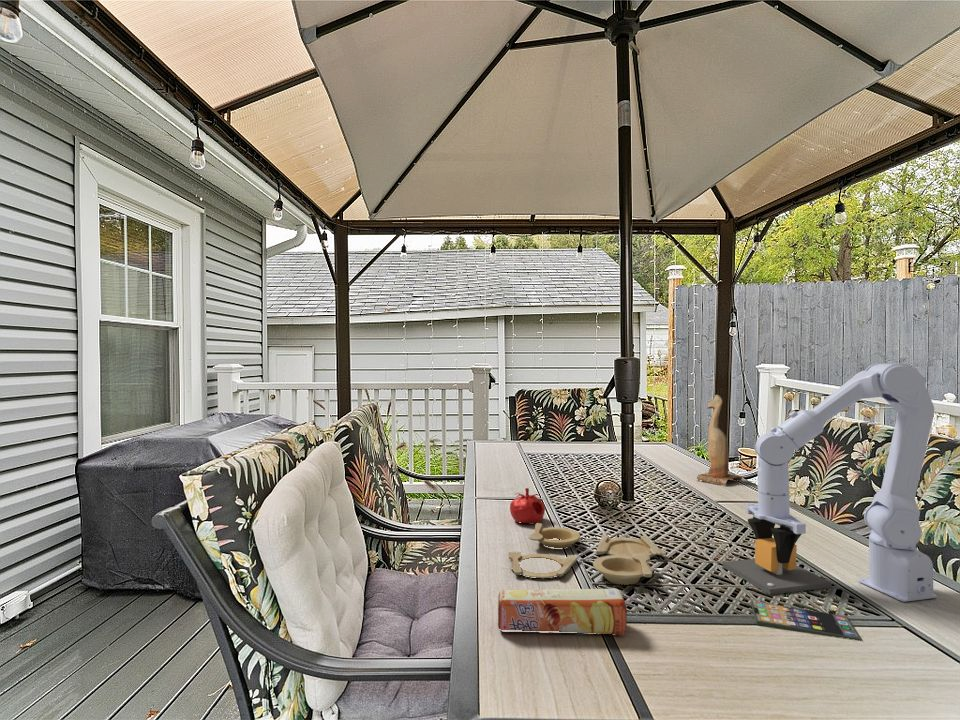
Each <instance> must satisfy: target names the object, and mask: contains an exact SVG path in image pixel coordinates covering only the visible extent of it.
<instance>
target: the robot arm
mask: <svg viewBox="0 0 960 720" xmlns="http://www.w3.org/2000/svg"><path fill="white" fill-rule="evenodd" d="M872 398H873V399H874V398H882V399H884V400H885V401H886V402H887V403H888V404H889V405H890V406H891V407H892V409H894V410H895V411H896V413H897V416H896V420H895V423H894V430H893V433H892V436H891V437H892V438H891V442H890V446H889V450H888V451H889V452H888V456H887V459H886V460H887V461H886V465H885V470H884V473H883V479H882V483H881V488H880V489H879V491H878V492H876V493H875V494H874V495H873V499H872V502H871V503H870V505H869V506H868V507H867V508H866V509H865V511H864V515H863V517H864V518H863V519H864V522H865V524H866V526H867V527H868V529H870V533H869V536H868V560H869V561H868V562H869V563H868V565H869V567H868V569H869V571H868V572H869V573H868V574H869V575H868V576H869V577H862V578H858V579H857V581H858V582H859V583H861V584H864V585H866V586H867V587H870V588H872V589H874V590H876V591H878V592H881V593H883V594H884V595H887V596H889V597H891V598H894V599H896V600H899V601H901V602H906V603H907V602H911V601H920V600H929V599H936V598H937V597H938V595H937V594H935V593H934V565H933V561H932V560H931V558H930V556H929V555H928V554H925V553H923V552H922V551H920V550H919V549H918V548H917V544H918V543H919V542H920V541H921V539H922V536H923V535H922V528H921V524H920V515H921V513H920V509H919V506H918V504H917V501H916V496H917V495H916V494H917V491H918V487H919V486H918V485H919V482H920V478H921V473H922V469H923V464H924V461H925V456H926V450H927V446H928V441H929V437H930V433H931V427H932V423H933V420H934V415H935V414H934V413H935V405H934V403H933V401H932V398H931V396H930V394H929V392H928V389H927V386H926V377H925V376H924V375H922V374H921V373H920V372H919V371H918V370H917V369H916V368H915V367H913V366H912V365H909V364H908V363H902V362H898V363H897V362H896V363H887V362H875V363H872V364H870V365H869V366H868V367H867V368H865V369H864V370H862V371H860V372H857V373H856V374H854V376H852V377H850V379H849V380H847V381H846V382H845V383H844V384H842V385H841V386H840V387H838V388H837V389H836V390H835V391H834V392H832V393H831V394H829V396H827V397H826V398H825V399H823V400H822V401H820V403H818V404H817V405H816V406H815V407H813V408H812V409H810V410H809V409H800V410H798V411H795V410H793V411H791V412H790V413H789V414H788V416H789V417H788V418H787V419H785V420H784V421H783V422H781V423H780V424H779V425H778V426H776V427H774V426H772V427H771V428H770V429H769V431H770V432H771V433H764V434H761V435H760V436H759V437H758V438H757V439H756V442H755V444H754V445H753V449H754V451H755V453H756V454H757V456H758V457H757V467H758V468H757V504H755V503H748V504H747V503H746V504H745V514H747V515H753V516H752V518H747V523H748V525H749V526H750V528H751V530H752V532H753V534H754V538H755V539H766V538H774V539H775V544H776V552H777V560H778V562H779V563H789V561H790V557H791V553H792V550H793V548H794V545H796V543H797V541H798V540H799V539H800V538H801V536H802V535H805V534H806V532H807V531H806V527H807V526H806V523H804V522H802V521H801V520H799V519H797V518H796V517H794V516H793V515H791V514H790V513H791V512H790V472H789V462H790V461H791V459H792V458H793V455H794V452H795V451H798V450H799V449H801V448H802V447H803V446H805V445H807V443H809V442H810V441H812V440H813V439H815V438H816V437H818V436H819V435H820V434H821V433H823V432H824V428H825V427H824V425H825V423H826V422H827V421H829V420H830V419H832V418H833V417H835V416H837V415H838V414H840V413H842V412H843V411H844V410H846V409H847V408H849V407H851V406H852V405H853V404H855V403H857V402H859V401H860V400H863V399H872ZM776 525H777V526H779V527H775V526H776Z"/></svg>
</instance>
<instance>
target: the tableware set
mask: <svg viewBox="0 0 960 720" xmlns="http://www.w3.org/2000/svg"><path fill="white" fill-rule="evenodd" d="M534 525H535V527H534V532H533V533H531V534H529V535H528V539H529V540H531V541H537V542H539V543H541V545H542V544H543V545H545V546H548V547H554V548H566V547H569V546H570V547H571V546H572V545H573V544H575V543H577V542H578V541H580V540H581V534H580V533H579V531H576V530H575V529H571V528H566V527H558V526H553V527H550V526H549V527H543V523H541V522H539V523H536V524H534ZM553 538H557V539H561V540H549V539H553ZM543 545H542V546H543ZM570 547H569V548H570ZM595 553H596V554H597V555H603V556H600V557H598V558H596V559H595V560H594V561H593V563H592V565H593V566H592V567H593V568H594V569H595V571H597V572H599V573H600V574H602V575H603V577H604V578H605V579H607V580H606V581H608V582H609V583H612V584H615V585H620V584H621V585H622V586H625V585H627V586H629V584H631V585H634V584H637V583H638V582H639V580H640V579H641V577H645V578H652V577H653V572H652V570H651V565H650V564H649V562H650V560H651V558H653V557H654V556H657V555H658V556H661V555H662V556H666V555H667V552H666V551H664V550H663V549H662V548H660V547H657V546H656V545H655V544H654V543H653V542H652V541H651V539H650V538H649V537H648V536H646V535H641V536H640V538H634V537H624V536H623V537H611V538H609V535H605V534H603V535H602V536H601V538H600V541H599V543H598V546H597V549H596V550H595ZM604 554H605V556H604ZM507 555H508V559H509V560H511V561H512V562H511V561H510V563H511V568H513V570H514V572H513V574H514V575H516V576H520V574H521V575H525V576H529V577H536V578H550V577H554V576H559V577H558V578H560V577H564V576H565V575H566V574H568V573H569V572H568V571H570V570H571V567H572V566H573V565H574V564H575V563H576V562H577V561H578V560H579V556H578V555H575V554H571V555H568V556H566V557H565V558H562V557H560V556H557V555H553V554H545V553H531V554H530V553H528V554H523V555H522V553H521V552H520V551H508V552H507ZM529 558H546V559H550V560H554V561H556V562H558V563H559V564H560V565H561V568H560V569H559V570H557V571H554V572H549V573H534V572H529V571H526V570H523V569H522V568H521V567H520V564H519V562H521V561H522V560H525V559H529ZM511 568H510V569H511ZM567 572H568V573H567ZM565 573H566V574H565ZM564 574H565V575H564ZM623 584H624V585H623Z"/></svg>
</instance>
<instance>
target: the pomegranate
mask: <svg viewBox="0 0 960 720" xmlns="http://www.w3.org/2000/svg"><path fill="white" fill-rule="evenodd" d="M524 490H525V495H524V494H522V493H519V492H517V493H516V497H515V498H514V499H513V500H511V502H510V505H509V512H510V515H511V517H512V519H513V520H514V521H515V522H516V521H517V522H516V523H518V522H521V523H538V522H539V523H541V521H542V520H543V519H544V515H545V511H546V506H545V504H544V502H542V499H540V498H538V497H537V496H539V497H541V495H540V494H537V493H536V494H530V488H529V487H525V489H524Z"/></svg>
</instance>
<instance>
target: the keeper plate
mask: <svg viewBox="0 0 960 720" xmlns="http://www.w3.org/2000/svg"><path fill="white" fill-rule="evenodd" d="M722 568H724V569H726V570H728V571H729V572H731V573H733V574H734V575H736V576H737V577H739V578H741V579H742V580H744V581H746V582H748V583H750V584H751V585H753V586H754V587H757V588H758V589H760V590H762V591H763V592H765V593H766V594H768V595H778V594H786V593H787V594H788V593H796V592H803V591H811V590H813V591H814V590H821V589H829V588H832V584H833V583H832V581H830V580H828V579H825V578H824V577H821V576H819V575H817V574H815V573H813V572H812V571H809V570H807V569H805V568H803V567H801V566H799V565H797V564H796V569H794V570H788V569H786V568H784V567H782V563H779V571H775V572H770V571H769V570H767V569H765V568H763V567H761V566H760V565H758V564H756V563H755V558H749V559H741V560H740V559H739V560H730V561H722Z"/></svg>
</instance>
